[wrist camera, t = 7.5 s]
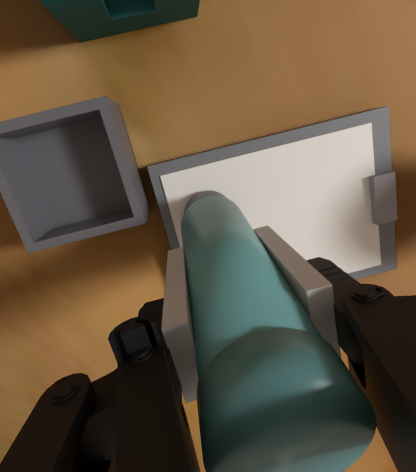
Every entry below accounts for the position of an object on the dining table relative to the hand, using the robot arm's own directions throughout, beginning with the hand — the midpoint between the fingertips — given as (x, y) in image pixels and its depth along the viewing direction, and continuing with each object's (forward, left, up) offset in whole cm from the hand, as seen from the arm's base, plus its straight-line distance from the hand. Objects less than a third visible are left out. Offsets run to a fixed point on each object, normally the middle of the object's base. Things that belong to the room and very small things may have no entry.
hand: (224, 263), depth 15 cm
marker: (-2, 0, -5) cm, 5 cm away
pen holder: (-6, -7, -6) cm, 11 cm away
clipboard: (0, +5, -6) cm, 8 cm away
